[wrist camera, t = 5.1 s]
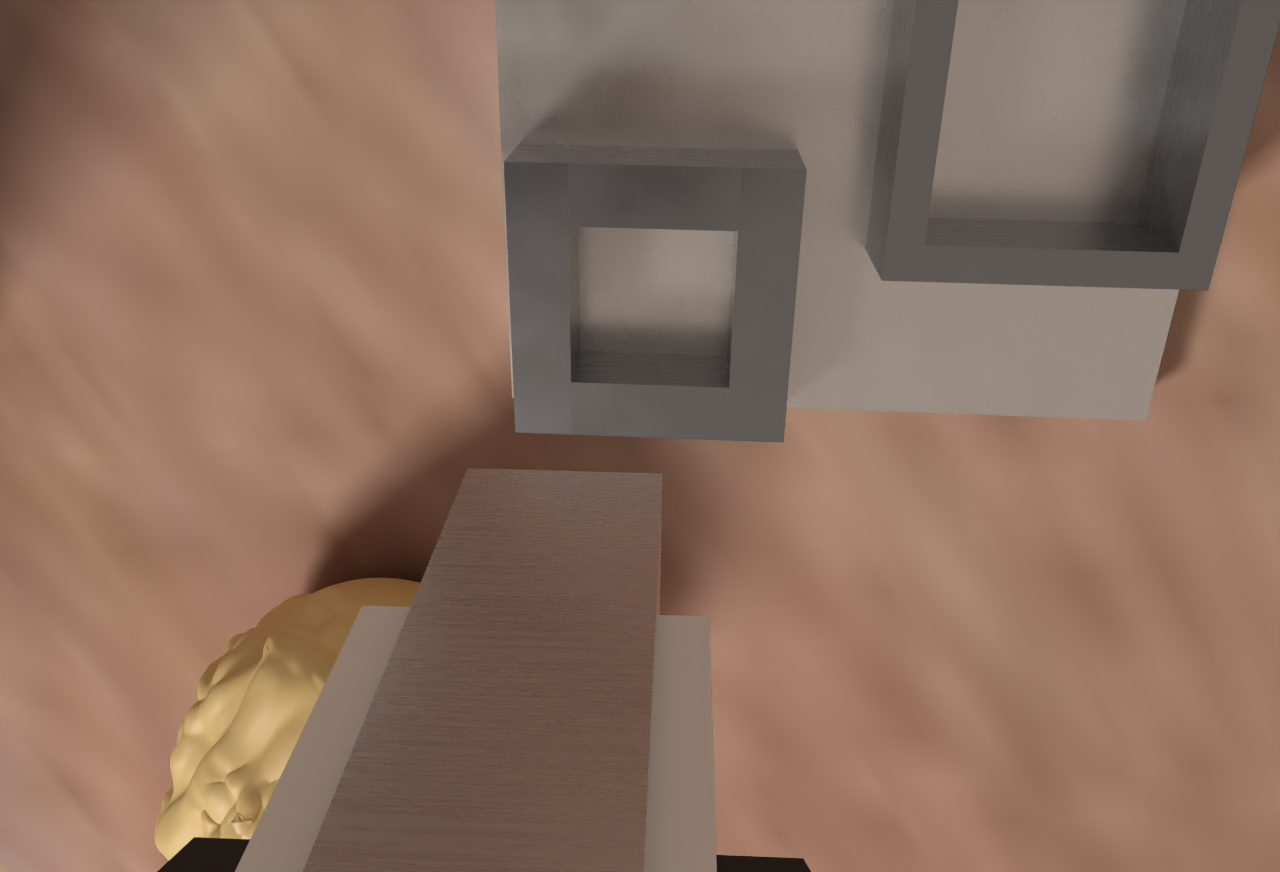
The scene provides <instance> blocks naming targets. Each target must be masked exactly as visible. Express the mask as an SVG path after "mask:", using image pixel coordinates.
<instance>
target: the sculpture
mask: <svg viewBox="0 0 1280 872" xmlns="http://www.w3.org/2000/svg"><path fill="white" fill-rule="evenodd" d="M419 586H420V582H415V581H410V580H404V579H396V578H364V579H357V580H351V581H346V582H342V583H338V584H335V585H332V586H329V587H326V588H324V589H321V590H319V591H316V592H314V593H312V594H300V595H296V596H293V597H291V598H289V599H287V600H286V601H284V602H283V603H282V604H280V605H279V606H277V607H276V608H274V609H273V610H271V611H270V612H269V613H268V614H266V615H265V616H264V617H263V618H262V619H261V620H260V622H259V623H258V625H257V627H256V628H252V629H250V630H248V631H247V632H246V633H241V634H238V635H236V636H234V637H233V638H232V639H231V640H230V641H229V643H228V645H227V647H226V651H225V654H224V655H223V656H222V657H221V658H219V659H218V660H216V661H214V662H213V663H211V664H210V665H209V666H208V668H207V669H206V670H205V672H204V674H203V675H202V677H201V679H200V681H199V685H198V689H197V693H198V700H199V701H198V702H196V703H195V704H194V705H193V706H192V707H191V708H190V709H189V710H188V712H187V714H186V717H185V718H184V720H183V722H182V725H181V727H180V729H179V732H178V737H177V744H176V745H175V747H174V749H173V751H172V754H171V757H170V768H171V773H172V777H173V785H174V787H173V788H172V789H170V790H169V791H168V792H167V793H166V795H165V796H164V799H163V801H162V806H161V809H160V812H159V815H158V818H157V822H156V828H155V835H154V838H155V844H156V846H157V848H158V850H159V851H160V852H161V853H162V854H163V855H164V856H165V857H166V858H167V859H168V860H170V859H171V858H173V857H174V856H175V855H176V854H177V853H178V852H179V851H180V850H181V849H182V848H183V847H184V846H185V845H186V844H187V843H188V842H189V841H191V840H192V839H193V838H194V837H202V838H228V839H251V837H252V835H253V833H254V831H255V829H256V827H257V824H258V822H259V820H260V818H261V816H262V814H263V812H264V810H265V808H266V806H267V804H268V801H269V799H270V797H271V795H272V793H273V791H274V789H275V787H276V785H277V783H278V781H279V778H280V776H281V774H282V772H283V770H284V768H285V766H286V764H287V762H288V760H289V758H290V756H291V753H292V751H293V749H294V747H295V745H296V743H297V741H298V739H299V737H300V735H301V733H302V730H303V728H304V726H305V724H306V722H307V720H308V718H309V716H310V714H311V712H312V710H313V707H314V705H315V703H316V701H317V699H318V697H319V695H320V693H321V691H322V689H323V687H324V685H325V682H326V680H327V678H328V676H329V674H330V672H331V670H332V668H333V666H334V664H335V662H336V659H337V657H338V655H339V653H340V651H341V649H342V647H343V645H344V643H345V641H346V639H347V636H348V634H349V632H350V630H351V628H352V626H353V624H354V622H355V620H356V618H357V616H358V614H359V611H360V609H361V607H362V606H393V607H411V605H412V603H413V600H414V598H415V595H416V593H417V590H418V588H419Z"/></svg>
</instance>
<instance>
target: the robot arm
mask: <svg viewBox="0 0 1280 872" xmlns="http://www.w3.org/2000/svg"><path fill="white" fill-rule="evenodd" d="M410 608H411V607H393V606H362V607H361V609H360V611H359V614H358V616H357V618H356V620H355V622H354V624H353V626H352V628H351V630H350V632H349V634H348V636H347V639H346V641H345V643H344V645H343V647H342V649H341V651H340V653H339V655H338V657H337V659H336V662H335V664H334V666H333V668H332V670H331V672H330V674H329V676H328V678H327V680H326V682H325V685H324V687H323V689H322V691H321V693H320V695H319V697H318V699H317V701H316V703H315V705H314V707H313V710H312V712H311V714H310V716H309V718H308V720H307V722H306V724H305V726H304V728H303V730H302V733H301V735H300V737H299V739H298V741H297V743H296V745H295V747H294V749H293V751H292V753H291V756H290V758H289V760H288V762H287V764H286V766H285V768H284V770H283V772H282V774H281V776H280V778H279V781H278V783H277V785H276V787H275V789H274V791H273V793H272V795H271V797H270V799H269V801H268V804H267V806H266V808H265V810H264V812H263V814H262V816H261V818H260V820H259V822H258V824H257V827H256V829H255V831H254V833H253V835H252V837H251V839H228V838H202V837H194V838H193V839H192V840H191V841H189V842H188V843H187V844H186V845H185V846H184V847H183V848H182V849H181V850H180V851H179V852H178V853H177V854H176V855H175V856H174V857H173V858H171V859H170V860H169V861H168V862H167V863H166V864H165V865H164V866H163V867H162V868H161V869H160V870H159V871H158V872H303V870H304V867H305V865H306V862H307V860H308V858H309V855H310V853H311V850H312V848H313V845H314V843H315V840H316V838H317V835H318V833H319V831H320V828H321V826H322V823H323V821H324V818H325V816H326V813H327V811H328V809H329V806H330V804H331V801H332V799H333V796H334V794H335V791H336V789H337V786H338V784H339V782H340V779H341V777H342V774H343V772H344V769H345V767H346V764H347V762H348V760H349V757H350V755H351V752H352V750H353V747H354V745H355V742H356V740H357V737H358V735H359V733H360V730H361V728H362V725H363V723H364V720H365V718H366V715H367V713H368V710H369V708H370V706H371V703H372V701H373V698H374V696H375V693H376V691H377V688H378V686H379V684H380V681H381V679H382V676H383V674H384V671H385V669H386V666H387V664H388V661H389V659H390V657H391V654H392V652H393V649H394V647H395V644H396V642H397V639H398V637H399V635H400V632H401V630H402V627H403V625H404V622H405V620H406V617H407V615H408V612H409V610H410ZM644 872H811V871H810V869H809V868H808V866H807V864H806V863H805V861H804V859H802V858H777V857H752V856H727V855H716V825H715V790H714V755H713V720H712V685H711V650H710V616H680V615H656V630H655V651H654V672H653V693H652V714H651V735H650V756H649V776H648V797H647V818H646V839H645V860H644Z"/></svg>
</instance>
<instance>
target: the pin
mask: <svg viewBox="0 0 1280 872" xmlns="http://www.w3.org/2000/svg"><path fill="white" fill-rule="evenodd" d="M662 482H663V473H631V472H594V471H557V470H520V469H483V468H467V470H466V473H465V475H464V478H463V480H462V483H461V485H460V487H459V490H458V492H457V495H456V497H455V500H454V502H453V505H452V507H451V510H450V512H449V514H448V517H447V519H446V522H445V524H444V527H443V529H442V532H441V534H440V536H439V539H438V541H437V544H436V546H435V549H434V551H433V554H432V556H431V559H430V561H429V563H428V566H427V568H426V571H425V573H424V576H423V578H422V581H421V583H420V586H419V588H418V590H417V593H416V595H415V598H414V600H413V603H412V605H411V608H410V610H409V612H408V615H407V617H406V620H405V622H404V625H403V627H402V630H401V632H400V635H399V637H398V639H397V642H396V644H395V647H394V649H393V652H392V654H391V657H390V659H389V661H388V664H387V666H386V669H385V671H384V674H383V676H382V679H381V681H380V684H379V686H378V688H377V691H376V693H375V696H374V698H373V701H372V703H371V706H370V708H369V710H368V713H367V715H366V718H365V720H364V723H363V725H362V728H361V730H360V733H359V735H358V737H357V740H356V742H355V745H354V747H353V750H352V752H351V755H350V757H349V760H348V762H347V764H346V767H345V769H344V772H343V774H342V777H341V779H340V782H339V784H338V786H337V789H336V791H335V794H334V796H333V799H332V801H331V804H330V806H329V809H328V811H327V813H326V816H325V818H324V821H323V823H322V826H321V828H320V831H319V833H318V835H317V838H316V840H315V843H314V845H313V848H312V850H311V853H310V855H309V858H308V860H307V862H306V865H305V867H304V870H303V872H644V860H645V839H646V818H647V797H648V776H649V756H650V735H651V714H652V693H653V672H654V651H655V630H656V615H660V584H661V533H662Z"/></svg>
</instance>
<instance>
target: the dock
mask: <svg viewBox="0 0 1280 872" xmlns="http://www.w3.org/2000/svg"><path fill="white" fill-rule="evenodd" d="M495 11H496V34H497V58H498V81H499V104H500V127H501V150H502V173H503V196H504V219H505V243H506V266H507V289H508V312H509V335H510V358H511V381H512V398H514V415H515V433H540V434H567V435H595V436H622V437H650V438H677V439H705V440H732V441H760V442H784V430H785V419H786V408H810V409H839V410H867V411H896V412H924V413H953V414H981V415H1010V416H1038V417H1067V418H1095V419H1124V420H1146V418H1147V414H1148V410H1149V406H1150V402H1151V398H1152V394H1153V390H1154V386H1155V382H1156V378H1157V375H1158V371H1159V367H1160V363H1161V359H1162V355H1163V351H1164V347H1165V343H1166V339H1167V335H1168V332H1169V328H1170V324H1171V320H1172V316H1173V312H1174V308H1175V304H1176V300H1177V296H1178V292H1179V290H1208V289H1209V285H1210V281H1211V277H1212V274H1213V270H1214V266H1215V262H1216V259H1217V255H1218V251H1219V248H1220V244H1221V240H1222V236H1223V233H1224V229H1225V225H1226V221H1227V218H1228V214H1229V210H1230V207H1231V203H1232V199H1233V195H1234V192H1235V188H1236V184H1237V180H1238V177H1239V173H1240V169H1241V166H1242V162H1243V158H1244V154H1245V151H1246V147H1247V143H1248V140H1249V136H1250V132H1251V128H1252V125H1253V121H1254V117H1255V113H1256V110H1257V106H1258V102H1259V99H1260V95H1261V91H1262V87H1263V84H1264V80H1265V76H1266V72H1267V69H1268V65H1269V61H1270V58H1271V54H1272V50H1273V46H1274V43H1275V39H1276V35H1277V32H1278V28H1279V24H1280V0H495Z"/></svg>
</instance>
